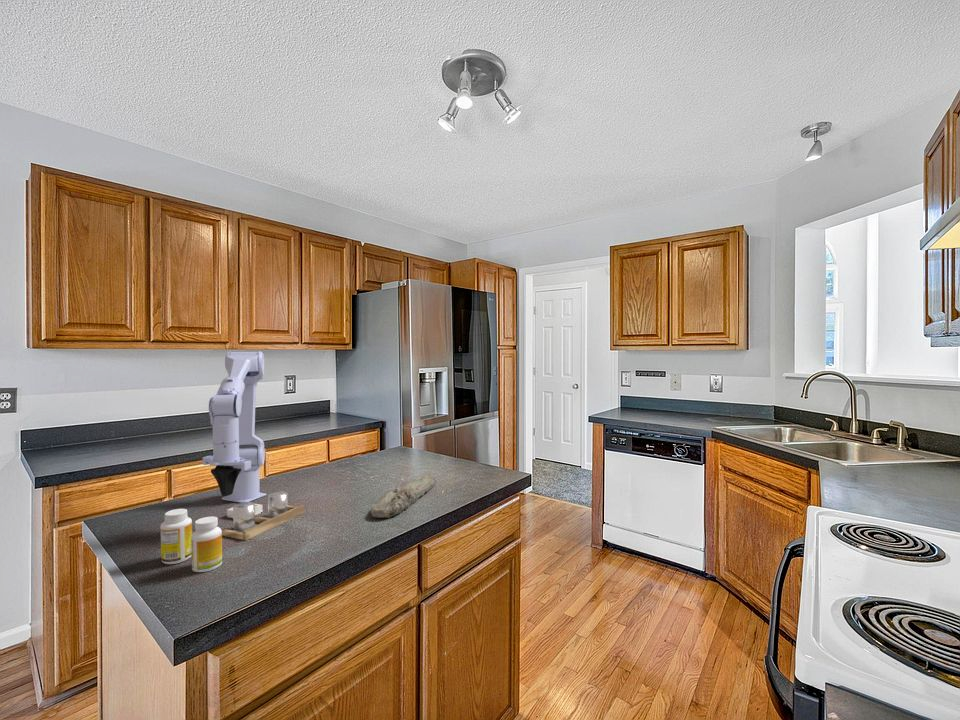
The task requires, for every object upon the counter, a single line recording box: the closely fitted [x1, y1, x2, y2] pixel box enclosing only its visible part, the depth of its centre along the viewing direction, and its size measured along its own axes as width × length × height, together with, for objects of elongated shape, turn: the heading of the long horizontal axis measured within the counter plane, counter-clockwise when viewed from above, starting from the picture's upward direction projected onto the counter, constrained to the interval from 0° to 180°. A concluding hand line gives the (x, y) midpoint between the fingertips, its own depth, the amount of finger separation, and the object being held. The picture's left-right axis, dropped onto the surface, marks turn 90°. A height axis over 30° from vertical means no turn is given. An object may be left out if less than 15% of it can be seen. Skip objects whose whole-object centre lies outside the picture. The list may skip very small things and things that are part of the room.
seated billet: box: [267, 490, 289, 518], centre depth 118 cm, size 5×5×6 cm
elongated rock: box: [370, 474, 437, 519], centre depth 132 cm, size 35×5×10 cm
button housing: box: [226, 503, 264, 519], centre depth 119 cm, size 6×6×2 cm
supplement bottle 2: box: [190, 516, 223, 573], centre depth 91 cm, size 5×5×10 cm
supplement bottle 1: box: [159, 508, 193, 565], centre depth 94 cm, size 6×6×10 cm
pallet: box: [221, 504, 306, 541], centre depth 113 cm, size 8×19×2 cm, turn 159°
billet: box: [232, 501, 256, 532], centre depth 110 cm, size 5×5×6 cm
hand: (227, 494), depth 112 cm, fingers closed
